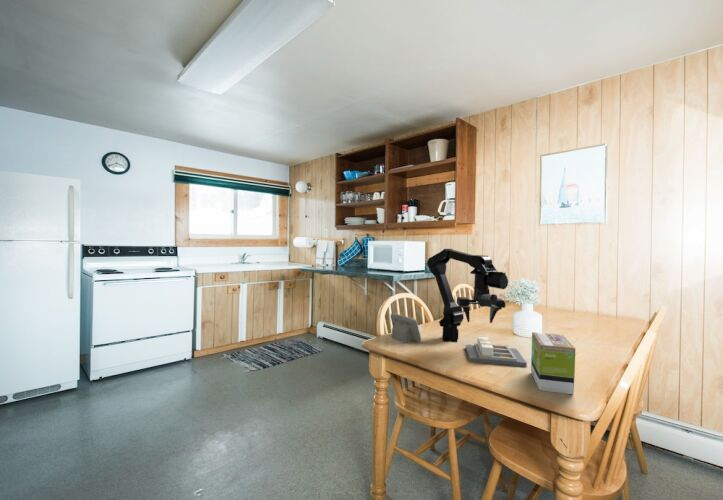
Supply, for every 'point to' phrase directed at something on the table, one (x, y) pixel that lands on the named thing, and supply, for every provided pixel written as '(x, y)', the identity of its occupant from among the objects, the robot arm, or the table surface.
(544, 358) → the tea box
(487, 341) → the white cube block
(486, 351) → the tab
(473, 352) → the switch bank
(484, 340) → the tab
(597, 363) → the table surface
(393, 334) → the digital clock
